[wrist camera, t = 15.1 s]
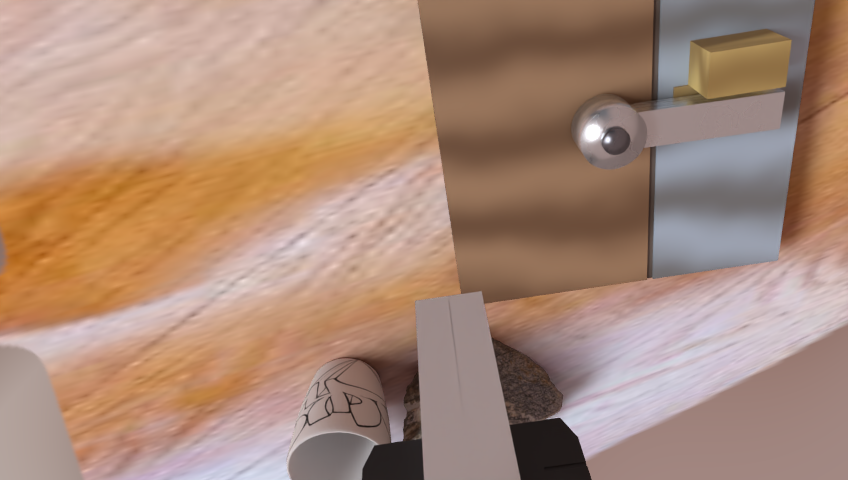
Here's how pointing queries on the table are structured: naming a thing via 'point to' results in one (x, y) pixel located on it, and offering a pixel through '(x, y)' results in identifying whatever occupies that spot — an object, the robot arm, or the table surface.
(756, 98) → the latch bar
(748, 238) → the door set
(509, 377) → the rock
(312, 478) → the mug
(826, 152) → the table surface
